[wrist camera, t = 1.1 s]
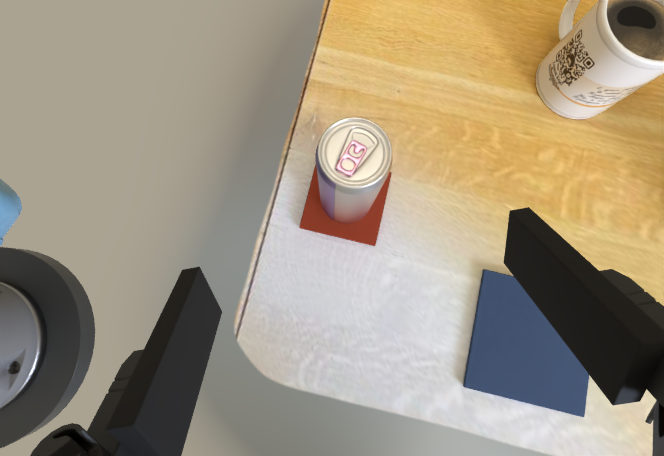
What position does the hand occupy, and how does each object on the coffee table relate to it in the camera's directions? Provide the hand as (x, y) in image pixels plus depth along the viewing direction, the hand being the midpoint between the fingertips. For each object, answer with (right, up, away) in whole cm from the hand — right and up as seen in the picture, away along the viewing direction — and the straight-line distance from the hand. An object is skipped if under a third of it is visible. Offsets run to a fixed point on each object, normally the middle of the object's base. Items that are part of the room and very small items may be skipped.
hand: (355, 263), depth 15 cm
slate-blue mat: (+21, -11, +24) cm, 34 cm away
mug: (+29, +21, +29) cm, 46 cm away
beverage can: (+1, +5, +26) cm, 26 cm away
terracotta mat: (+1, +5, +26) cm, 27 cm away
